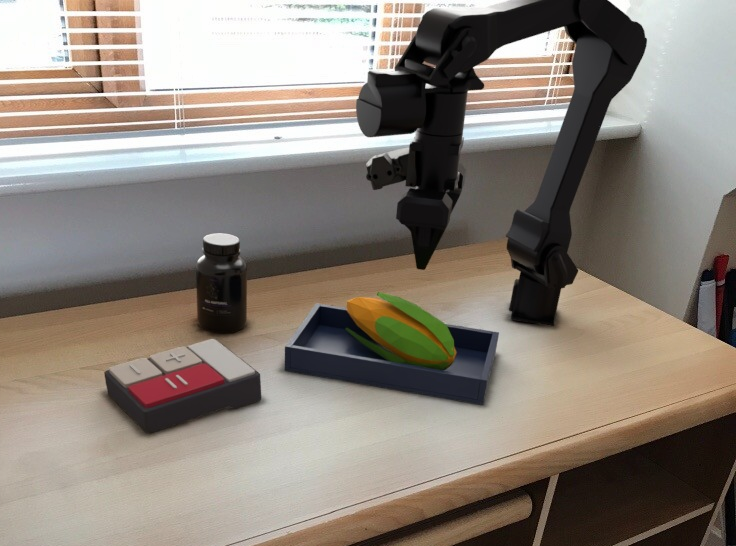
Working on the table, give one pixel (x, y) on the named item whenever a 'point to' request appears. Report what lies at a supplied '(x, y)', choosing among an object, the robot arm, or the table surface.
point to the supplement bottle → (221, 285)
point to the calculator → (182, 384)
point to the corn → (403, 331)
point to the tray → (364, 366)
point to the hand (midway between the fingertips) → (426, 256)
